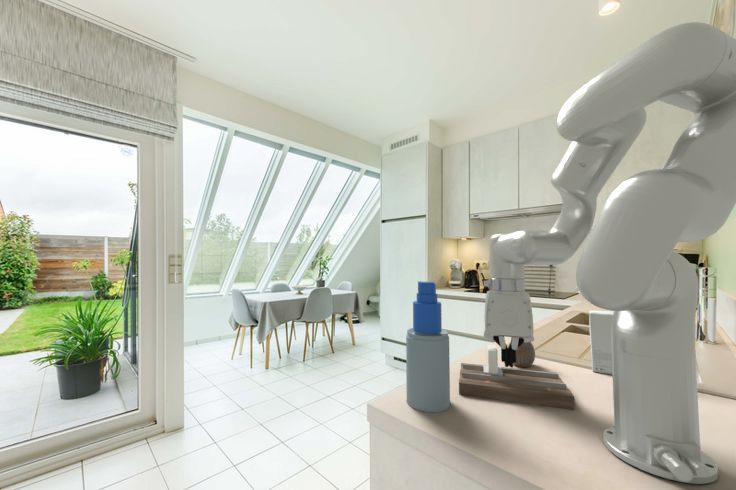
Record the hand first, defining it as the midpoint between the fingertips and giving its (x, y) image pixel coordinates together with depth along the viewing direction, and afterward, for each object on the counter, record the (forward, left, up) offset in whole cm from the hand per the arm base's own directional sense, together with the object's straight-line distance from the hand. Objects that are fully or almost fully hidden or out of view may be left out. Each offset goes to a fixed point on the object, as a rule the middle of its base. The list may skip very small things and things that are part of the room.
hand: (508, 365), depth 72 cm
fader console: (0, 0, -5) cm, 5 cm away
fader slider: (0, +3, -3) cm, 4 cm away
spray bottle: (-13, +17, -5) cm, 22 cm away
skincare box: (+22, -26, -5) cm, 35 cm away
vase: (+19, -5, -5) cm, 20 cm away
